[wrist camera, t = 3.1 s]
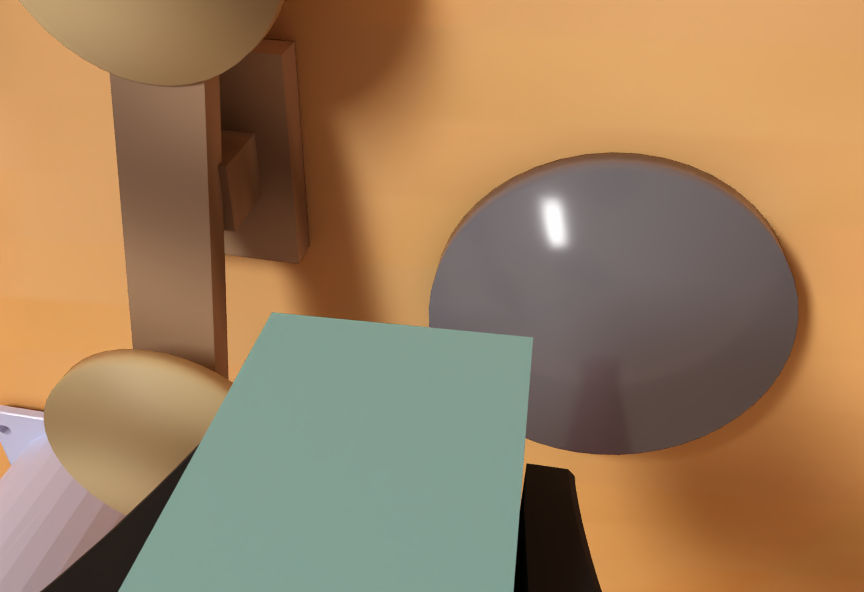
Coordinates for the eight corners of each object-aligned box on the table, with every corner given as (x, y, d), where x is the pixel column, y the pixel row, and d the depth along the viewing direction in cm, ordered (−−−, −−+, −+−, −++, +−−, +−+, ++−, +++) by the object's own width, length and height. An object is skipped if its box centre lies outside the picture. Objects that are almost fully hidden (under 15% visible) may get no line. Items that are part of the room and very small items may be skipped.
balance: (348, 400, 26) (292, 553, 21) (172, 373, 26) (78, 516, 21) (320, -272, 15) (187, -282, 10) (19, -286, 15) (-247, -302, 10)
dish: (731, 452, 24) (737, 476, 23) (428, 407, 25) (423, 428, 24) (847, 175, 18) (859, 195, 17) (442, 132, 19) (436, 149, 18)
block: (516, 510, 13) (488, 835, 9) (300, 483, 14) (187, 780, 10) (533, 337, 11) (507, 673, 7) (272, 312, 11) (107, 611, 7)
